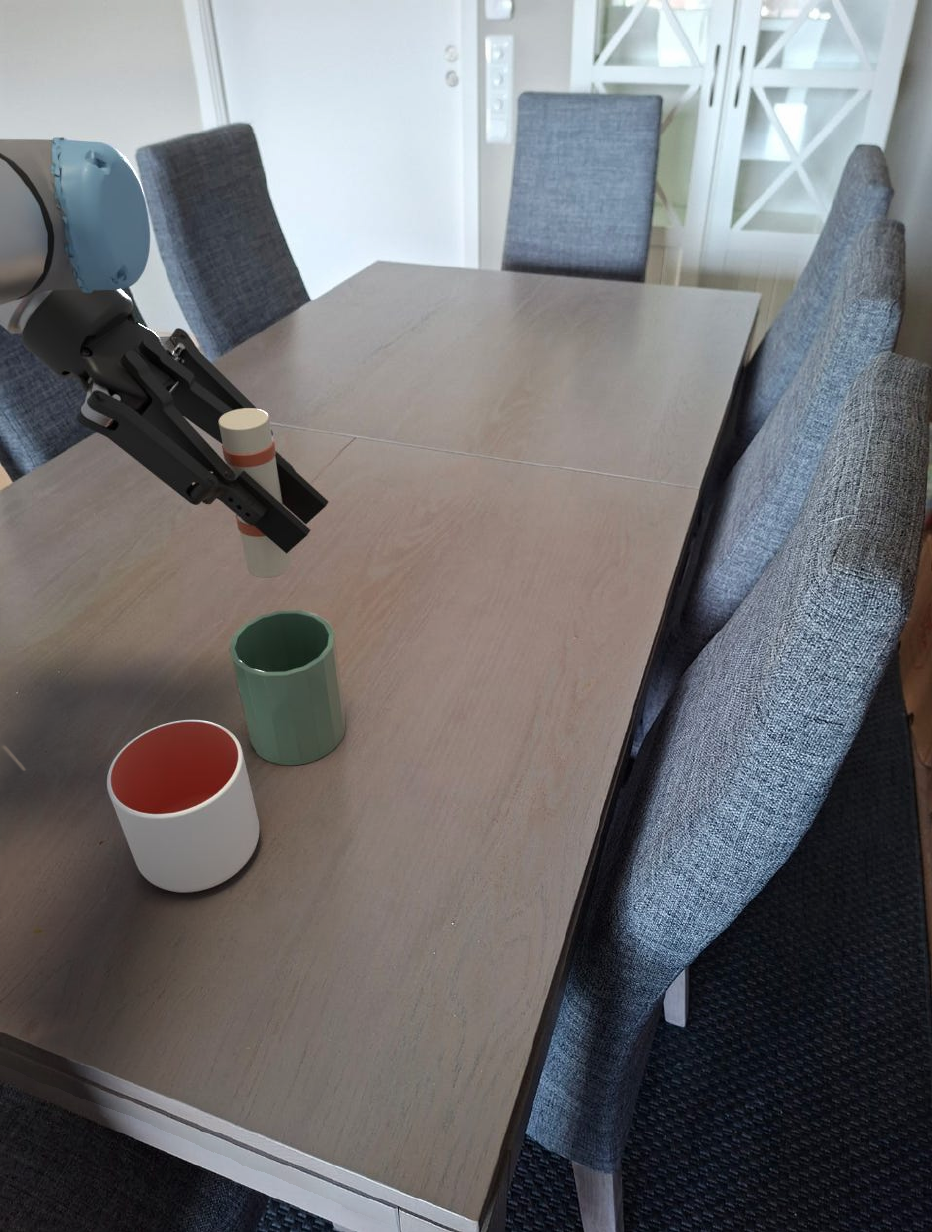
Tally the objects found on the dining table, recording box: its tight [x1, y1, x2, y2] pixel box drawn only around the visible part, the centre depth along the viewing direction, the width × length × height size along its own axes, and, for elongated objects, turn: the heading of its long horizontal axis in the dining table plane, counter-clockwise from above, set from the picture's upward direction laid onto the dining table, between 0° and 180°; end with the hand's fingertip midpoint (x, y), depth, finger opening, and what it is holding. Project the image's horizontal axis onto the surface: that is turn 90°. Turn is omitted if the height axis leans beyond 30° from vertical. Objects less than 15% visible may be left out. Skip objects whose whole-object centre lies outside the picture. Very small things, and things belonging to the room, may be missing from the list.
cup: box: [106, 719, 260, 893], centre depth 69 cm, size 10×10×10 cm
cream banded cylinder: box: [219, 408, 293, 579], centre depth 67 cm, size 4×4×13 cm
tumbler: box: [228, 609, 346, 766], centre depth 80 cm, size 9×9×11 cm
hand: (307, 526), depth 68 cm, fingers closed on cream banded cylinder, 4 cm apart
